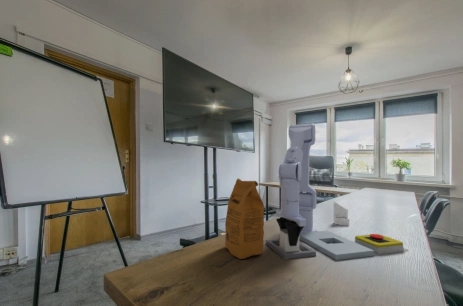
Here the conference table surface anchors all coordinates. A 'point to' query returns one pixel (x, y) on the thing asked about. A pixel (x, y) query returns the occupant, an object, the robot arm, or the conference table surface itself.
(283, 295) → the conference table surface
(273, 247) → the grey square frame
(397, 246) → the emergency button
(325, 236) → the port plate
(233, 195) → the coffee package
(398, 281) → the conference table surface
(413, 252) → the conference table surface
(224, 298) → the conference table surface
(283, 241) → the grey block
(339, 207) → the white angled block
